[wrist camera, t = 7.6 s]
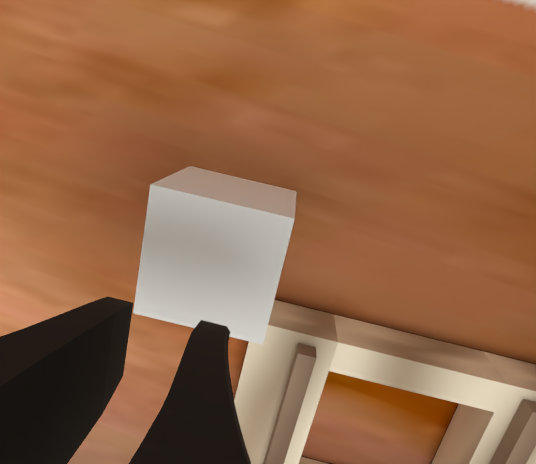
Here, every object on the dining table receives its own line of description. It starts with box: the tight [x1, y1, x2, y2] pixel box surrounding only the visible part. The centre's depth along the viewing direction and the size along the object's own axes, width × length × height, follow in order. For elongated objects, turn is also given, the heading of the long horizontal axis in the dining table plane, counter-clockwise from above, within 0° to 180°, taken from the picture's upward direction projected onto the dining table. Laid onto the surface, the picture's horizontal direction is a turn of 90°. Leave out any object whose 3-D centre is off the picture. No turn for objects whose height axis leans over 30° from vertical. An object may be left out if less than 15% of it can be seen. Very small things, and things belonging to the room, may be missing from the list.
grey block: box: [133, 166, 297, 345], centre depth 16 cm, size 5×5×5 cm
